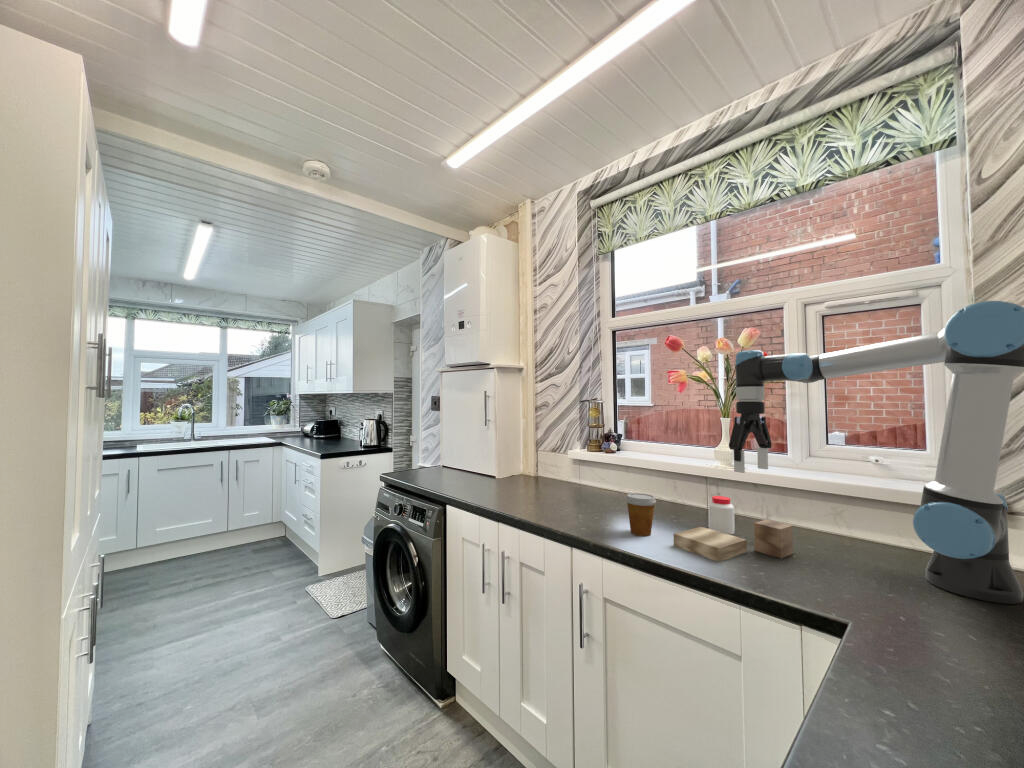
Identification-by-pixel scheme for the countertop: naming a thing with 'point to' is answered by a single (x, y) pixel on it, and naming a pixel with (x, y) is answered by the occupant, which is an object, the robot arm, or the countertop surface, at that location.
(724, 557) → the oak block
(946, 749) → the countertop surface
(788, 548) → the walnut block
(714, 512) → the pill bottle
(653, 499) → the disposable coffee cup
